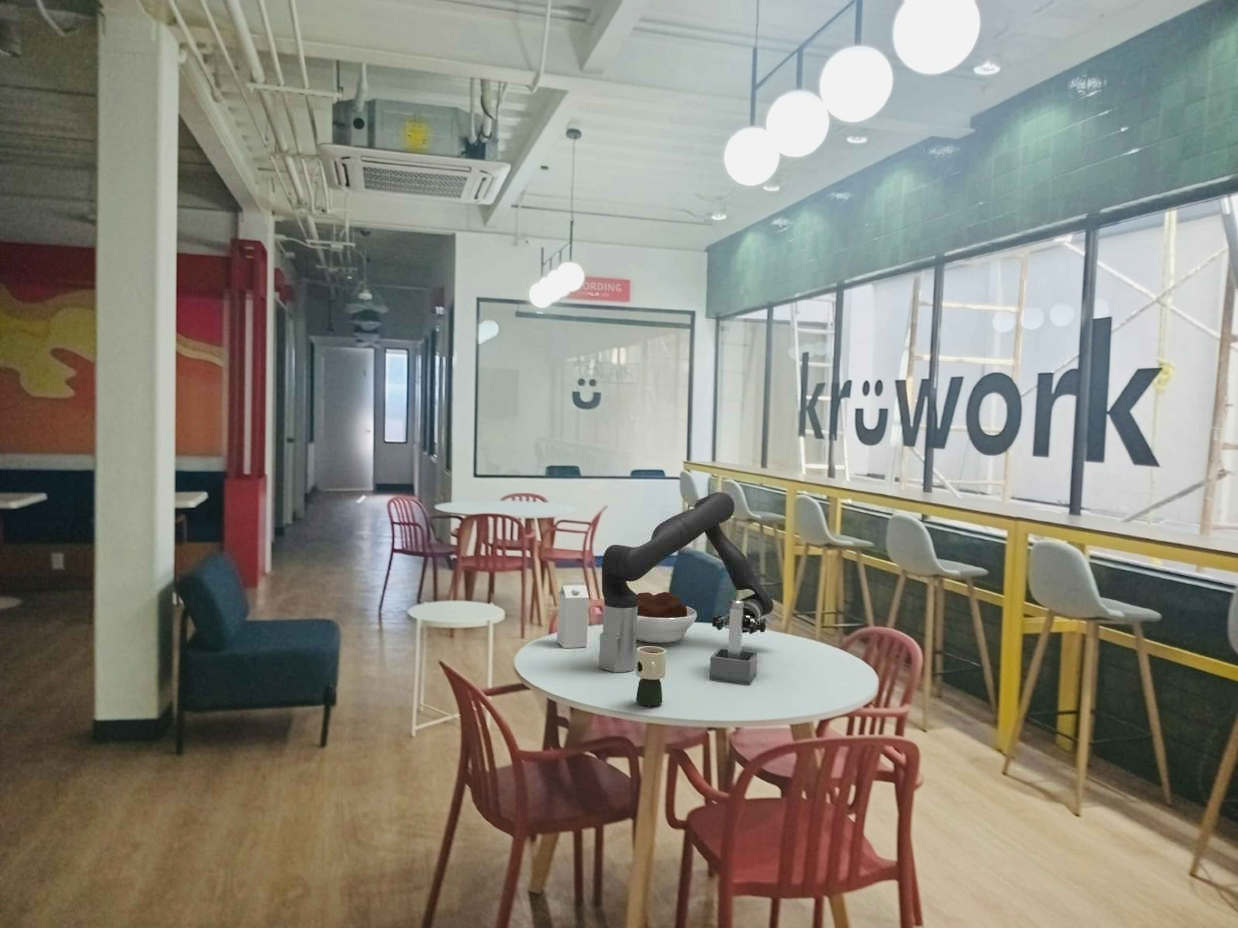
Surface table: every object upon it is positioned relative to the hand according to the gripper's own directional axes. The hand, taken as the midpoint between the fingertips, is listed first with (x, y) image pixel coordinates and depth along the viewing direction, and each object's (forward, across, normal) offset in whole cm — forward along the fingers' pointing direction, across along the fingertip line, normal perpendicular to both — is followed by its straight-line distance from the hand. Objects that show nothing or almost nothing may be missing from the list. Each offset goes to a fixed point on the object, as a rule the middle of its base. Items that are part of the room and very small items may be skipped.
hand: (734, 628), depth 229 cm
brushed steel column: (-2, 0, +12) cm, 13 cm away
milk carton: (-12, -51, +14) cm, 54 cm away
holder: (-2, 0, +14) cm, 14 cm away
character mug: (+30, -14, +14) cm, 36 cm away
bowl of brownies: (-31, -30, +14) cm, 45 cm away
